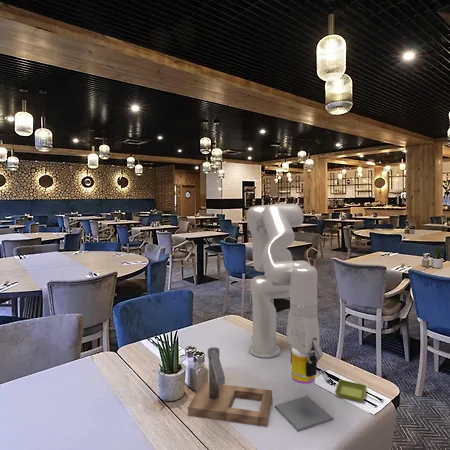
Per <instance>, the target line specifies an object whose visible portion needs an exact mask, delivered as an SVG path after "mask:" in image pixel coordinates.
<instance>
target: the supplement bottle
mask: <svg viewBox="0 0 450 450" xmlns="http://www.w3.org/2000/svg"><path fill="white" fill-rule="evenodd" d="M311 350H312V348H311ZM312 356H313V353H310V357H312ZM306 362H308V361H307V357H306V354H304V353H302V352H301V351H299V350H298V349H296V348H295V347H292V364H291V381H292V383H293V384H295V385H296V386H299V387H307V388H308V387H310V386H313V385H314V384H315V381H316V375H313V376H310V377H307V376H306Z"/></svg>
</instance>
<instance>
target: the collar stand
mask: <svg viewBox="0 0 450 450" xmlns="http://www.w3.org/2000/svg"><path fill="white" fill-rule="evenodd" d="M235 399H241V400H249V401H257V402H260V407H259V410H253V409H252V410H251V409H245V408H236V407H232V406H233V404H234V401H235ZM272 399H273V390H271V389H266V388H256V387H247V386H240V385H239V386H238V385H231V384H220V385H217V382H216V378H215V374H214V370H213V366H212V361H211V359H210V358H208V382H207V381H202V382H201V384H200V386H199V387H198V389H197V391H196V392H195V395H194V396H193V397H192V399H191V401H190V403H189V404H188V406H187V415H188V416H191V417H198V418H203V419H204V418H205V419H211V420H219V421H226V422H232V423H241V424H245V425H254V426H260V427H268V422H269V417H270V413H271V412H270V411H271V405H272V401H273V400H272Z"/></svg>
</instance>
